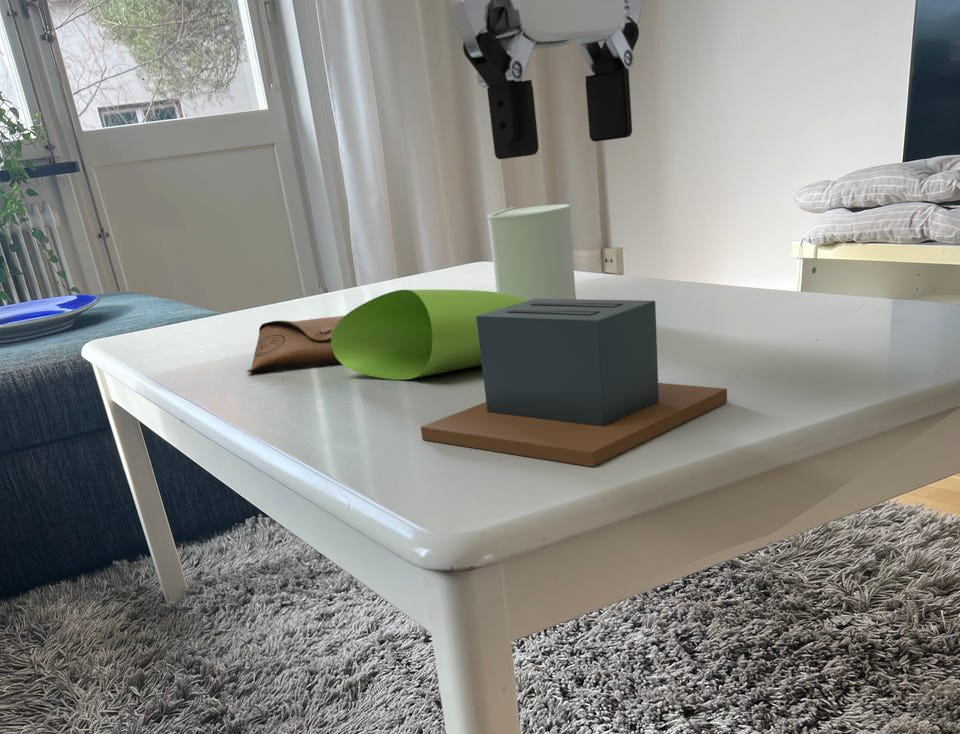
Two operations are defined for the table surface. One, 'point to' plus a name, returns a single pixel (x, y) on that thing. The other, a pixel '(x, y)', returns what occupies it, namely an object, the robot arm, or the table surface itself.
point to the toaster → (570, 359)
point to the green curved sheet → (415, 332)
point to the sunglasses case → (295, 344)
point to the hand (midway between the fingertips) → (566, 147)
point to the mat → (574, 428)
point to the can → (533, 252)
